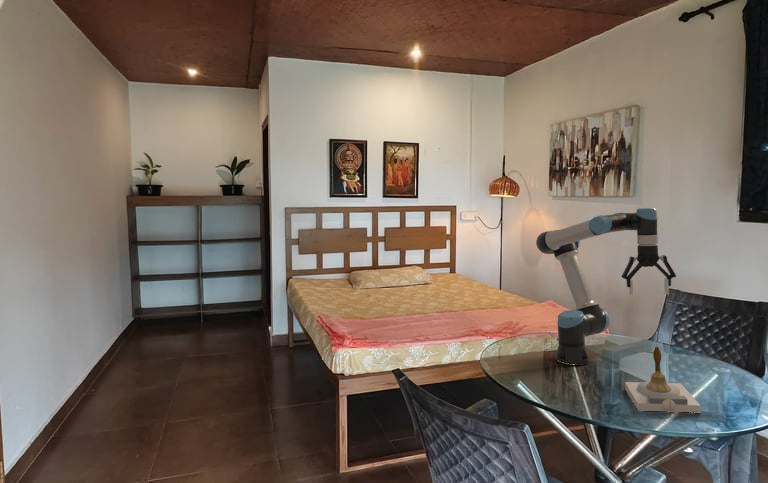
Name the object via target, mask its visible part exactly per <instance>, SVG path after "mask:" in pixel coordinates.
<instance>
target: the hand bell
mask: <svg viewBox="0 0 768 483" xmlns="http://www.w3.org/2000/svg"><path fill="white" fill-rule="evenodd" d="M652 353H653V354H652V356H653V357H652V358H653V360H654V364H655V365H654V366H655V371H654V372H652V373H651V376H650V380H649V381H650V382H649V383H648V384H647V385H646V388H647V389H649V390H651V391H654V392H660V393H665V392H669V391H671V388H670V386H668V384H667V383H668V382H667V380H666V375H665V374H664V373H663V372H661V362H662V352H661V350H660V347H658V346H655V347H654V350H653V352H652Z"/></svg>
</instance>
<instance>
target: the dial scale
mask: <svg viewBox="0 0 768 483" xmlns="http://www.w3.org/2000/svg"><path fill="white" fill-rule="evenodd" d="M649 382H650V380H649V381H642V382H640V381H639V382H637V381H636V382H634V381H633V382H632V381H625V382H624V389H625V391H626V394H627V396H629V399H630V400H631V402H632V404H633V403H634V404H633V405H634V407H635V406H636V407H635V408H637V409H638V410H650V411H651V410H652V411H670V412H689V413H688V414H695V413H702V412H701V411H702V410H701V408H702V407H701V406H702V405H701V404H700V403H699V402H698V401H697V400H696V398H694V397H693V395H692V394H691V393H690V392H689V391H688V389H687V388H686V387H684V385H683V384H682V383H681V382H680V383H677V382H675V383H673V382H667V384H668V386H670V388H671V391H669V392H665V393H660V392H654V391H651V390H649V389H647V388H646V385H647V384H648V383H649ZM637 409H636V410H637ZM638 410H637V411H638ZM690 412H691V413H690ZM693 412H694V413H693Z"/></svg>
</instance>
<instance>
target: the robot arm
mask: <svg viewBox="0 0 768 483" xmlns="http://www.w3.org/2000/svg"><path fill="white" fill-rule="evenodd" d="M658 219H659V218H658V212H657V209H656V208H655V207H640V208H637V209H636V212H617V213H613V214H606V215H605V214H604V215H598V216H597V215H596V216H594V217H593V218H591V219H589V220H586V221H582V222H580V223H579V222H578V223H577V224H573V225H571V226H568V227H565V228H562V229H561V228H560V229H556V230H548V231H547V230H546V231H543V232H542V233H540V234H539V235H538V236H537V238H536V243H535V244H536V248H537V249H538V250H539V251H540V253H542V254H546V255H554V259H555V260H557V261H559V264H560V265H561V269H562V271H563V273H564V277H565V279H566V282H567V286H568V287H569V291H570V293H571V295H572V298H573V301H574V304H575V308H574V309H571V310H564V311H562V312H560V313H559V314H558V315H557V323H556V324H557V334H558V335H557V336H558V338H557V339H558V346H557V349H556V352H555V356H554V357H555V360H556V359H557V360H559V361H561V362H564V363H569V364H577V365H581V364H586V365H587V363H588V364H590V362H591V361H590V360H591V359H590V355H589V352H588V350H587V348H586V342H585V339H586V337H589V336H593V335H598V334H601V333H603V332H606V331H607V329H608V328H609V326H610V322H611V321H610V316H609V313H608V312H607V311H606V310H605V309H604V308H601V307H600V304H599V302H596V301H595V299H594V297H593V295H592V293H591V290H590V287H589V284H588V282H587V278H586V277H585V276H586V275H585V274H584V271H583V268H582V266H581V263H580V260H579V258H578V254H579V250H578V249H579V247H580V243H581V241H583V240H587V239H589V238H594V237H597V236H601V235H605V234H609V233H614V232H623V231H636V233H637V234H636V235H637V236H636V237H637V242H636V243H637V244H638V245H637V256H632V255H631V256H630V257H629V259H628V263H627V265H626V267H625V269H624V270H623V273H622V274H621V277H622V279H624V280H626V288H628V289H629V291H628V292H629V295H630V296H633V295H634V286H633V285H634V282H633V281H634V280H633V279H632V278H633V277H634V276H635V275H636V274H637V273H638V271H640V270H641V269H642V268H643V267H644V268H646V267H647V268H648V267H649V268H650V267H651V268H652V267H655V268H657V270H658V271H659V272H660V273H661V274H662V275H663V276H664V277H666V278H664V280H663V281H664V294H665V295H667V296H668V295H670V289H669V287H671V286H672V279H673V278H677V275H676V273H675V272H674V269H673V268H672V266H671V264H670V262H669V261H668V257H667V255H666V254H665V255H664V254H662V255H659V247H658V242H659V240H658V239H659V238H658ZM636 261H637V262H638V263H637V264H636V266H634V268H633V269H632V270H631V268H632V267H633V264H634V263H635V262H636ZM659 261H662V263H663V264H664V266H665V267H666V269H667V271H668V272H667V271H666V270H665V269H664V268H663V267H662V266H661V265H660V264H659V263H658V262H659Z"/></svg>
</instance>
